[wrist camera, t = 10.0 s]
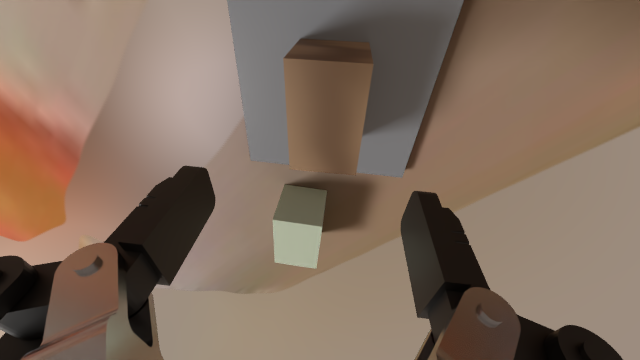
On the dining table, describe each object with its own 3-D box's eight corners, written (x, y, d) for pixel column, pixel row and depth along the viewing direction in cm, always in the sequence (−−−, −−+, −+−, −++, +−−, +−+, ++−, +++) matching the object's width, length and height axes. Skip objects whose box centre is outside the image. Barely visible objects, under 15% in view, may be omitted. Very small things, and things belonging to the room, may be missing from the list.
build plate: (254, 154, 24) (250, 160, 23) (228, -39, 15) (221, -40, 14) (400, 170, 23) (402, 177, 23) (464, -21, 14) (471, -21, 14)
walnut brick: (301, 133, 21) (289, 169, 17) (300, 38, 16) (283, 58, 13) (355, 137, 21) (355, 175, 17) (369, 42, 16) (373, 64, 12)
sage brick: (284, 226, 31) (274, 262, 27) (284, 183, 26) (272, 219, 22) (321, 231, 31) (316, 268, 27) (327, 189, 26) (322, 226, 22)
